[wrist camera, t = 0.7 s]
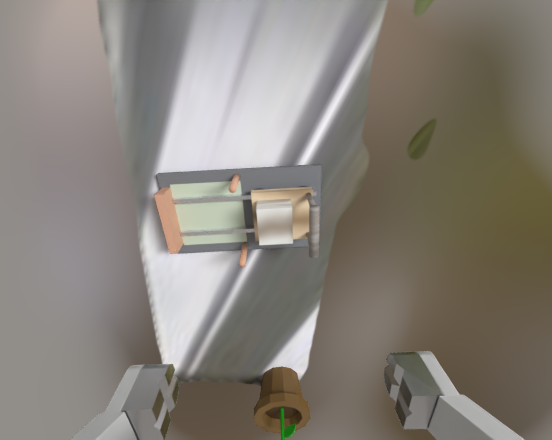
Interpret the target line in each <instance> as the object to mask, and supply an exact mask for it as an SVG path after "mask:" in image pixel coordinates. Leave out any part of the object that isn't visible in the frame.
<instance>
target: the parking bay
mask: <svg viewBox="0 0 552 440" xmlns="http://www.w3.org/2000/svg"><path fill="white" fill-rule="evenodd" d="M239 180H240V175H239V174H235V175H234V177H233V179H232V181H227V182H208V183H190V184H172V185H170V187H165V188H162V189H160V190H159V191H158V192H157V193H156V194H155V195H154V197H155V200H156V204H157V208H158V212H159V215H160V219H161V223H162V227H163V230H164V234H165V238H166V241H167V245H168V249H169V253H170V254H178V252H179V250H180V248H181V247H182V245H183V243H184V245H196V244H214V243H232V242H244V243H243V244H242V248H241V254H240V260H239V266H240V267H245V263H246V256H247V249H248V244H247V243H246V242H247V236H246V233H231V234H213V235H195V236H180V234H179V232H180V231H183V230H201V229H219V228H237V227H245V218H244V210H243V201H242V200H230V201H212V202H194V203H176V204H172V198H181V197H200V196H218V195H236V194H242V192H241V183H240V181H239Z"/></svg>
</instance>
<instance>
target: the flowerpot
mask: <svg viewBox="0 0 552 440" xmlns="http://www.w3.org/2000/svg"><path fill="white" fill-rule="evenodd" d="M254 419H255V422H256V425H257V426H258V427H260V428H262V429H263V430H265V431H268V432H274V433H281V440H285V438H288V437H290V436H291V435H292V434H294V431H296V430H298V429H300V428H302V427H304V426H305V425H306V424H307V422H308V421H309V420H310V412H309V407H308V402H307V401H306V400H305V399H303V397H302V393H301V389H300V384H299V380H298V376H297V373H296V372H295V371H294V370H292V369H291V368H286V367H276V368H272V369H270V370H268V371H267V372H266V373H265V374H264V376H263V379H262V386H261V393H260V400H259V401H258V403H257V404H256V406H255V408H254Z"/></svg>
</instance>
